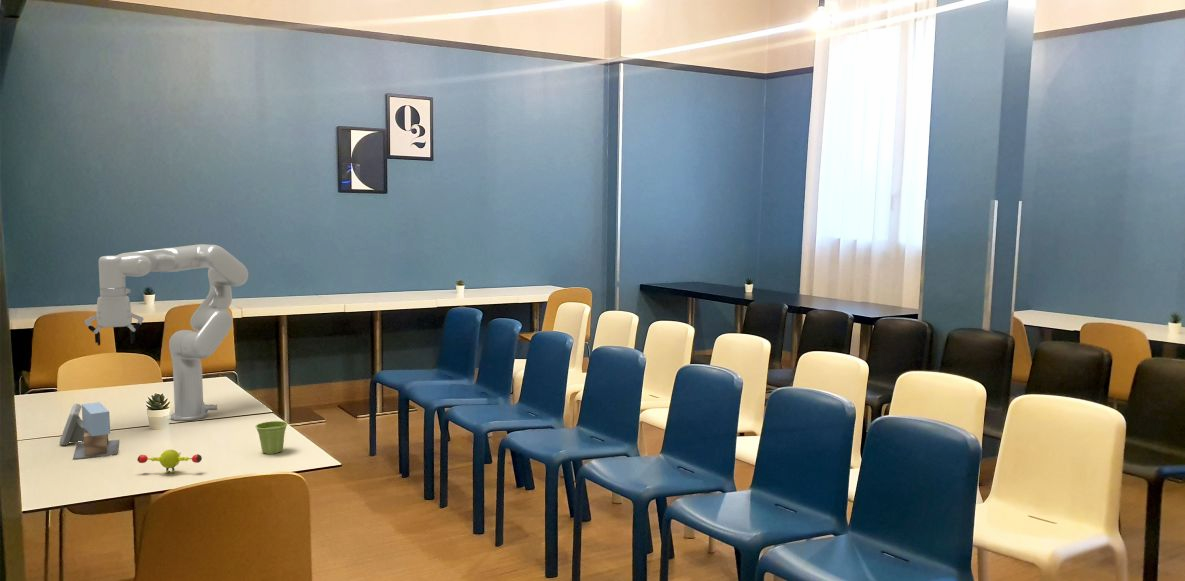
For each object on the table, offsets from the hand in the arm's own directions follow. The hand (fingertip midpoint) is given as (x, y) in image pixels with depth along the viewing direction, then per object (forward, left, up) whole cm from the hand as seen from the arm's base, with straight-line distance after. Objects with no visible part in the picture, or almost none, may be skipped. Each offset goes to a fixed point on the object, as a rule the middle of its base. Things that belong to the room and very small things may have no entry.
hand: (115, 343), depth 296 cm
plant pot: (-43, +46, -31) cm, 70 cm away
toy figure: (-14, +56, -31) cm, 65 cm away
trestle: (+6, +20, -30) cm, 37 cm away
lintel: (+6, +20, -24) cm, 32 cm away
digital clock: (+14, +3, -31) cm, 34 cm away
